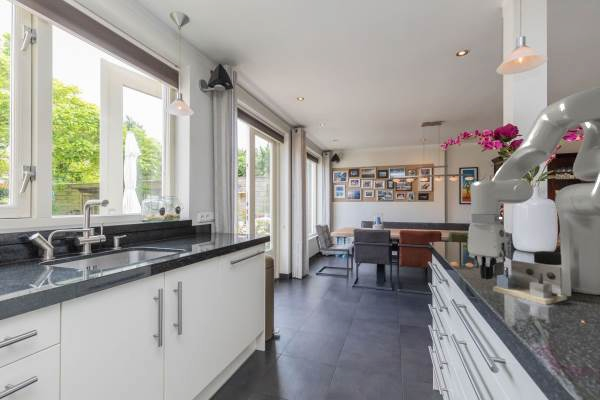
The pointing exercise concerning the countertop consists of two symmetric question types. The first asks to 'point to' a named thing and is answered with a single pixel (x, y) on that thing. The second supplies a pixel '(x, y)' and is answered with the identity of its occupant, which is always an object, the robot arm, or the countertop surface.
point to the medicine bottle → (554, 261)
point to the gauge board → (535, 283)
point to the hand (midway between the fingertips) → (486, 278)
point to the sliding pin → (506, 280)
